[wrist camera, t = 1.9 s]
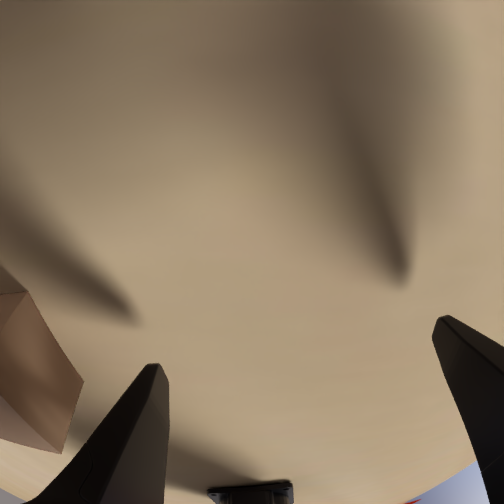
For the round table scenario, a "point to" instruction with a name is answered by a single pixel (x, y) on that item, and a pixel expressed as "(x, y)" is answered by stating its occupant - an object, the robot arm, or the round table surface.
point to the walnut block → (33, 378)
